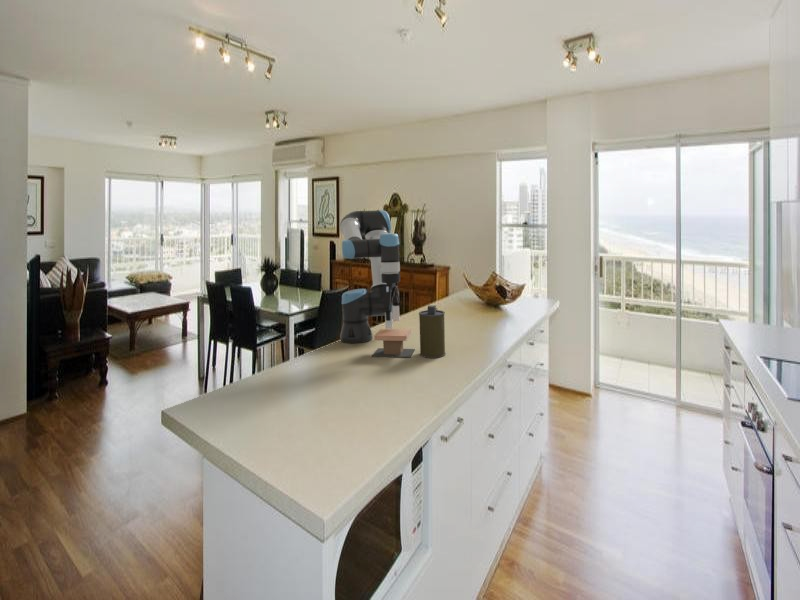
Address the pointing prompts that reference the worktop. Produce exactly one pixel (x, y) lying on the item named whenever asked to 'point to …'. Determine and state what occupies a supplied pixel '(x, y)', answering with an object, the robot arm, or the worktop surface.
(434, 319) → the canister
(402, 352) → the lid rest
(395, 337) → the lid
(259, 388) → the worktop surface
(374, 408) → the worktop surface
